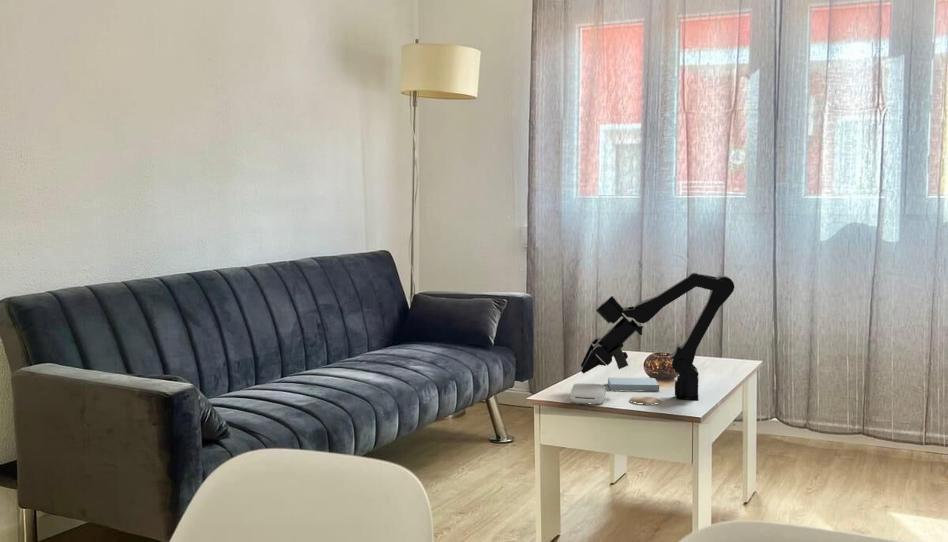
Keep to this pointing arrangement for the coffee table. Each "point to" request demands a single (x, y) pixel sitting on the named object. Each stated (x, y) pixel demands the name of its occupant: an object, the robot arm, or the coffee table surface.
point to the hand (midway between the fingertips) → (582, 369)
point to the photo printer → (588, 393)
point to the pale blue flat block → (633, 384)
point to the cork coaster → (645, 400)
